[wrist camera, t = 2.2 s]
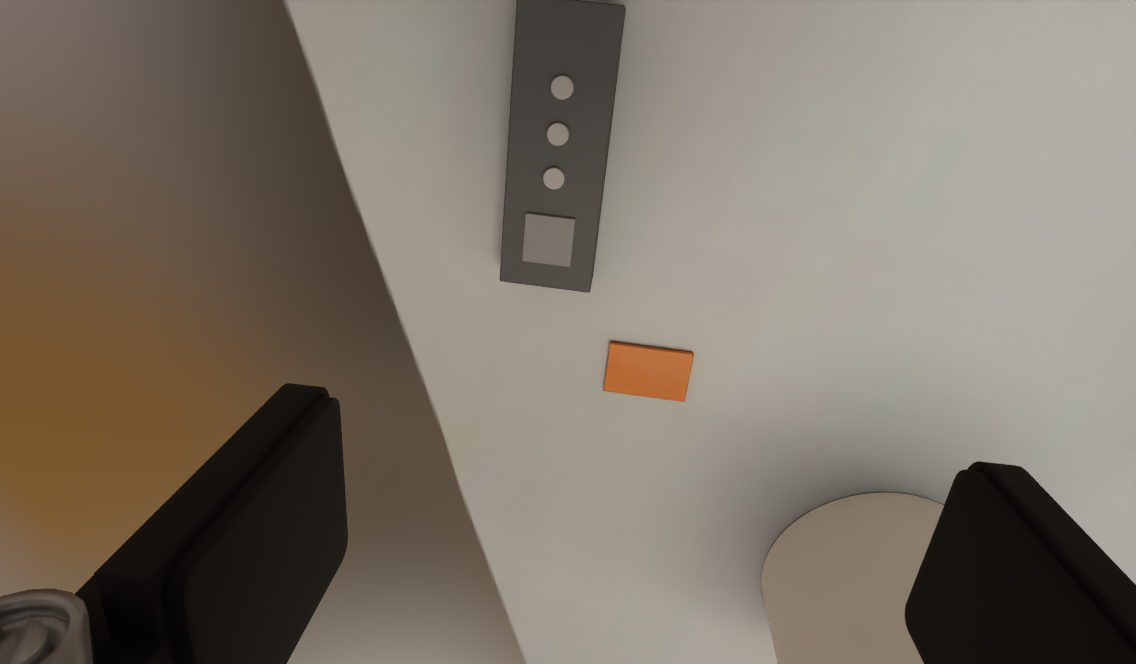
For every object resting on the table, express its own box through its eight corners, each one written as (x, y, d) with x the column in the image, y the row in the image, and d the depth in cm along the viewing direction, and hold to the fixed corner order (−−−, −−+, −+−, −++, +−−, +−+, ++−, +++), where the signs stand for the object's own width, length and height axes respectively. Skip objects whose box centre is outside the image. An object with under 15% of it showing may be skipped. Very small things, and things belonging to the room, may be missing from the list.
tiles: (681, -165, 27) (682, -167, 27) (794, -154, 27) (796, -156, 26) (603, 388, 38) (603, 391, 37) (683, 399, 37) (684, 402, 37)
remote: (525, -3, 30) (515, -7, 28) (625, 7, 30) (624, 4, 27) (507, 267, 35) (498, 283, 33) (592, 278, 35) (589, 295, 33)
